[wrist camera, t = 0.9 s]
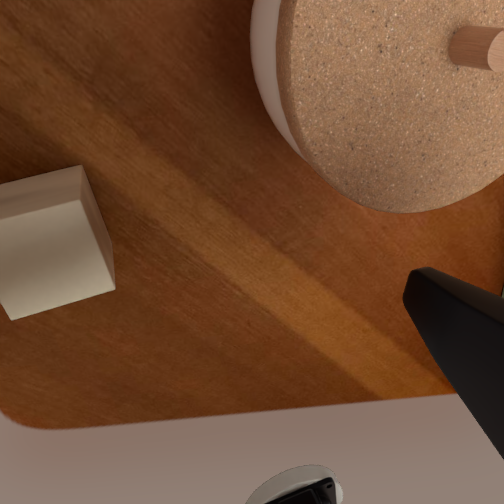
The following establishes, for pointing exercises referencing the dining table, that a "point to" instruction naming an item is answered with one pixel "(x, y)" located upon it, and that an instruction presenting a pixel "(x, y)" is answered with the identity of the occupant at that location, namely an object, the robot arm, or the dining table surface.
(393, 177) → the trinket box
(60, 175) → the block
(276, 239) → the dining table surface
